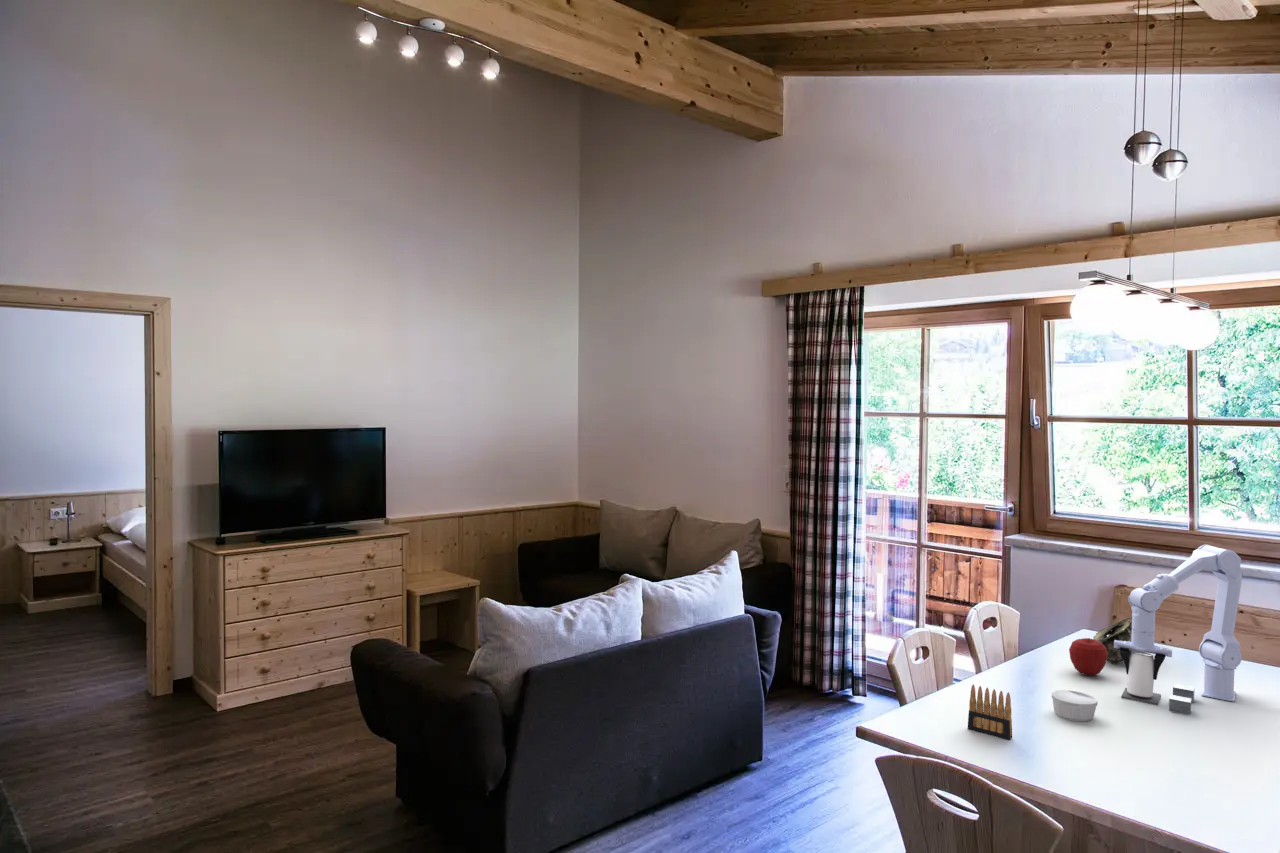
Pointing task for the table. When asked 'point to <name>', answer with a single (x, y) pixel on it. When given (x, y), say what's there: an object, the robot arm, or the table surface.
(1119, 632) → the hollow geode rock
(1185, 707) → the block
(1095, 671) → the apple
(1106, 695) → the table surface
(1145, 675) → the can
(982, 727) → the ammunition clip
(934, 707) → the table surface
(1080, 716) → the ramekin
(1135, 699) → the mat
